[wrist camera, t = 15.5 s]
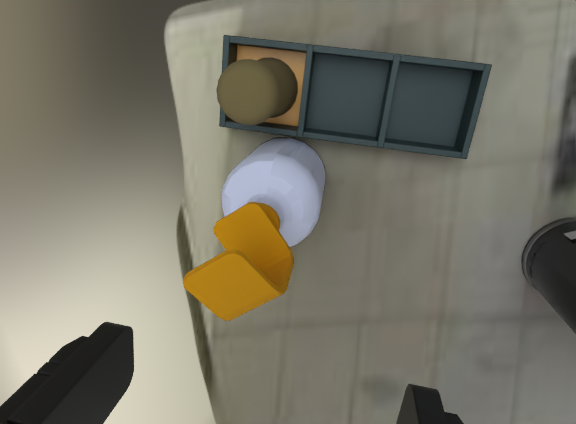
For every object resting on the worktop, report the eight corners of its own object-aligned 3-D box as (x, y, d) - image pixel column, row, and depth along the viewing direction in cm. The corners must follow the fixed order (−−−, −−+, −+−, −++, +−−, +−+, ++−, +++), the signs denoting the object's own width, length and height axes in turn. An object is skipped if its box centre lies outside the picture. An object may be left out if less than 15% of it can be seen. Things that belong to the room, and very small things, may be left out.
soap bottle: (297, 120, 43) (240, 179, 20) (340, 190, 45) (335, 318, 22) (231, 163, 45) (112, 258, 22) (274, 228, 47) (207, 377, 24)
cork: (242, 53, 41) (207, 48, 30) (301, 60, 40) (285, 57, 30) (238, 114, 43) (204, 127, 32) (294, 121, 42) (277, 137, 32)
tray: (480, 65, 38) (492, 64, 35) (457, 152, 41) (466, 159, 38) (233, 37, 41) (223, 34, 38) (228, 122, 44) (219, 126, 41)
